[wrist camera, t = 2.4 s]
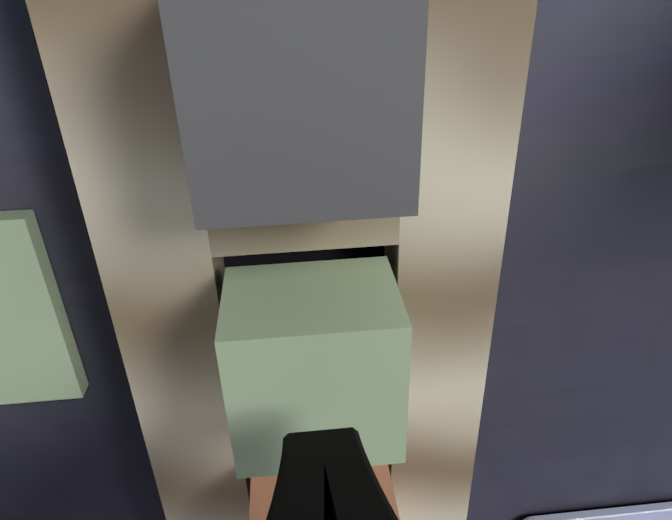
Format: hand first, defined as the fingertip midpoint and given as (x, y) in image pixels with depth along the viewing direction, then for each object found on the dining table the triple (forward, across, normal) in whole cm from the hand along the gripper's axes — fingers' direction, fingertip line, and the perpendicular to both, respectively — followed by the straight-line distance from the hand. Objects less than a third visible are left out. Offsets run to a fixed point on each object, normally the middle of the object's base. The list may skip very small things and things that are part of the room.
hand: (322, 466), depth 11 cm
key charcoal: (+5, 0, -6) cm, 8 cm away
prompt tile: (+7, +9, 0) cm, 11 cm away
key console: (+7, 0, 0) cm, 7 cm away
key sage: (+5, 0, 0) cm, 5 cm away
